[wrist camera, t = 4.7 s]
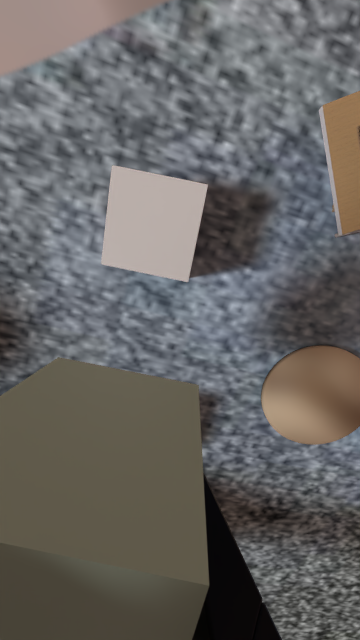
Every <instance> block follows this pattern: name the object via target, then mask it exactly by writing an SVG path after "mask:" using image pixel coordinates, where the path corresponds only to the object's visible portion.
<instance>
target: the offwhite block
mask: <svg viewBox="0 0 360 640" xmlns="http://www.w3.org/2000/svg"><path fill="white" fill-rule="evenodd" d="M207 187H208V184H203V183H198V182H193V181H188V180H183V179H178V178H173V177H168V176H163V175H158V174H153V173H148V172H143V171H139V170H134V169H129V168H124V167H119V166H114V165H112V170H111V179H110V188H109V197H108V206H107V216H106V225H105V234H104V243H103V252H102V261H101V264H103V265H107V266H112V267H117V268H122V269H127V270H132V271H137V272H141V273H146V274H151V275H156V276H161V277H166V278H170V279H175V280H180V281H185V282H188V280H189V277H190V272H191V267H192V262H193V257H194V253H195V248H196V243H197V238H198V233H199V228H200V223H201V219H202V214H203V209H204V204H205V198H206V193H207Z"/></svg>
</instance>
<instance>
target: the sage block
mask: <svg viewBox="0 0 360 640" xmlns="http://www.w3.org/2000/svg"><path fill="white" fill-rule="evenodd" d="M208 588H209V571H208V553H207V534H206V516H205V497H204V479H203V460H202V442H201V423H200V405H199V386H198V385H196V384H191V383H186V382H181V381H176V380H171V379H165V378H160V377H155V376H150V375H145V374H140V373H135V372H130V371H125V370H120V369H115V368H110V367H105V366H100V365H95V364H90V363H85V362H80V361H75V360H70V359H64V358H59V357H58V358H57V359H55V360H54V361H52V362H51V363H49V364H48V365H46V366H45V367H43V368H42V369H40V370H39V371H37V372H36V373H34V374H33V375H31V376H30V377H28V378H27V379H25V380H24V381H22V382H21V383H19V384H18V385H16V386H15V387H13V388H12V389H10V390H9V391H7V392H6V393H4V394H3V395H1V396H0V640H192V638H193V635H194V632H195V629H196V625H197V622H198V619H199V616H200V613H201V610H202V607H203V604H204V601H205V597H206V594H207V591H208Z"/></svg>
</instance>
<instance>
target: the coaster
mask: <svg viewBox="0 0 360 640" xmlns="http://www.w3.org/2000/svg"><path fill="white" fill-rule="evenodd" d="M261 404H262V408H263V411H264V414H265V416H266V418H267V420H268V421H269V423H270V424H271V426H272V427H273V428H274V429H275V430H276V431H277V432H278V433H279V434H281V435H282V436H284V437H286V438H287V439H290V440H292V441H295V442H298V443H303V444H324V443H329V442H333V441H336V440H338V439H341V438H343V437H345V436H347V435H349V434H350V433H352V432H353V431H354V430H356V429H357V428H358V427H359V426H360V359H359V358H358V357H357V356H355V355H353V354H352V353H350V352H348V351H346V350H343V349H341V348H338V347H334V346H327V345H317V346H309V347H305V348H302V349H299V350H296V351H294V352H292V353H290V354H288V355H287V356H285V357H283V358H282V359H281V360H280V361H278V362H277V363H276V364H275V365H274V366H273V368H272V369H271V370H270V372H269V373H268V375H267V377H266V378H265V381H264V383H263V387H262V391H261Z"/></svg>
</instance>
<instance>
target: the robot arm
mask: <svg viewBox="0 0 360 640" xmlns="http://www.w3.org/2000/svg"><path fill="white" fill-rule="evenodd" d="M203 479H204V497H205V516H206V534H207V553H208V571H209V588H208V591H207V594H206V597H205V601H204V604H203V607H202V610H201V613H200V616H199V619H198V622H197V625H196V629H195V632H194V635H193V638H192V640H282V639H281V637H280V635H279V633H278V631H277V629H276V627H275V624H274V622H273V620H272V618H271V616H270V614H269V611H268V609H267V607H266V605H265V603H262V597H261V595H260V592H259V590H258V588H257V586H256V584H255V582H254V580H253V577H252V575H251V573H250V571H249V569H248V567H247V565H246V562H245V560H244V558H243V556H242V554H241V552H240V550H239V547H238V545H237V543H236V541H235V539H234V537H233V535H232V533H231V530H230V528H229V526H228V524H227V522H226V520H225V518H224V515H223V513H222V511H221V509H220V507H219V505H218V503H217V500H216V498H215V496H214V494H213V492H212V490H211V488H210V485H209V483H208V481H207V479H206V477H205V475H204V473H203Z"/></svg>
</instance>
